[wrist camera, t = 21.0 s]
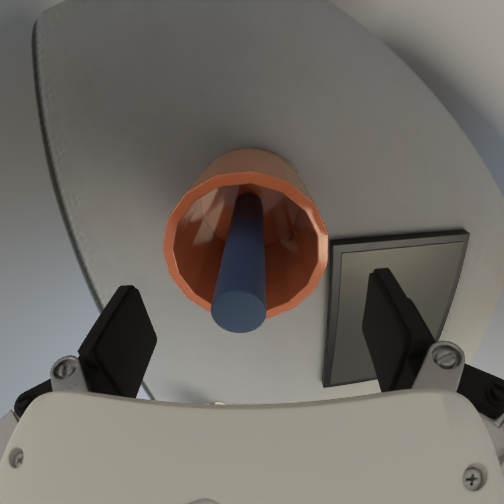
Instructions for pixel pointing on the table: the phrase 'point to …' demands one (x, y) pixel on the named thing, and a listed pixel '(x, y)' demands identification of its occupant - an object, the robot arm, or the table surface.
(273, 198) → the pen cup
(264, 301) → the stylus
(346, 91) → the table surface
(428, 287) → the tablet
